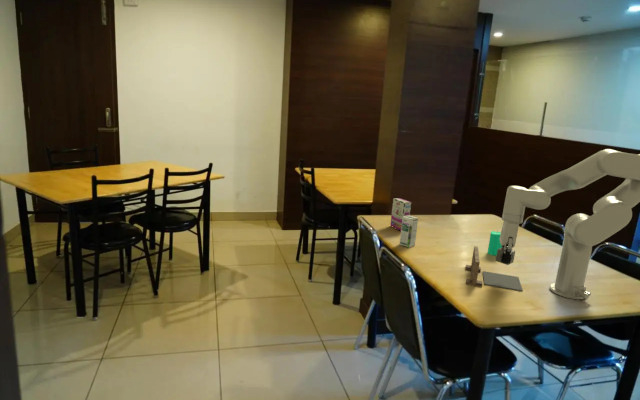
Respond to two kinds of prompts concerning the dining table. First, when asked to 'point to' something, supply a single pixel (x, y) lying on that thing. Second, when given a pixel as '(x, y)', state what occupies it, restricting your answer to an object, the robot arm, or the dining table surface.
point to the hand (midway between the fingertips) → (504, 259)
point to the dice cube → (499, 255)
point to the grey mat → (502, 281)
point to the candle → (494, 243)
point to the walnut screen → (474, 269)
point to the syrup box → (408, 231)
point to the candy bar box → (399, 212)
